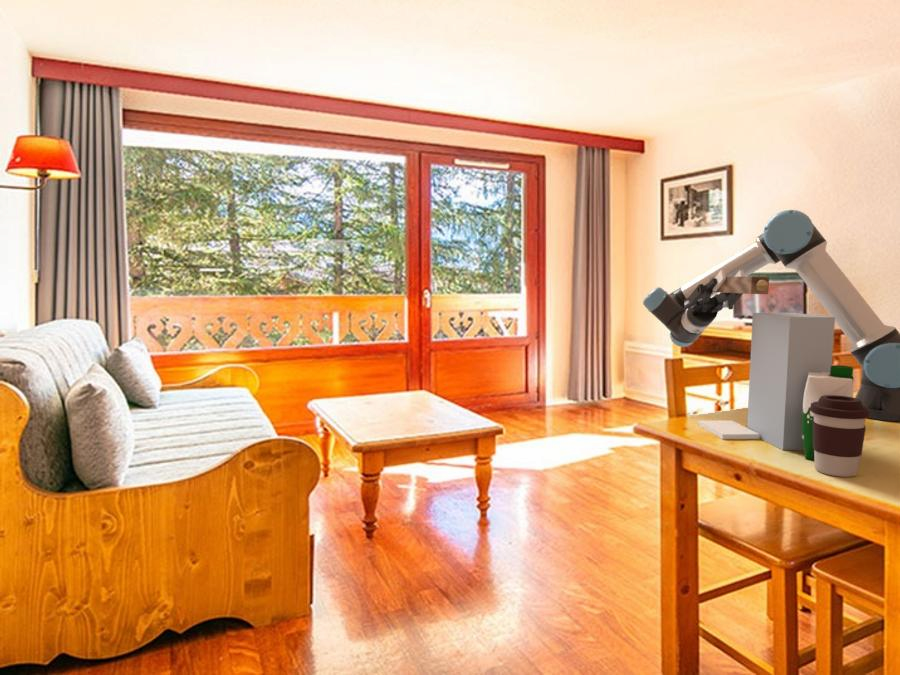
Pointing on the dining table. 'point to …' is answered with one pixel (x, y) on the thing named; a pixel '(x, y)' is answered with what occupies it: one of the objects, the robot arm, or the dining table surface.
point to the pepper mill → (744, 285)
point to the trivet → (728, 430)
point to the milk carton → (819, 386)
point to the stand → (785, 372)
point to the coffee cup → (838, 434)
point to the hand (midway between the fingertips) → (732, 274)
